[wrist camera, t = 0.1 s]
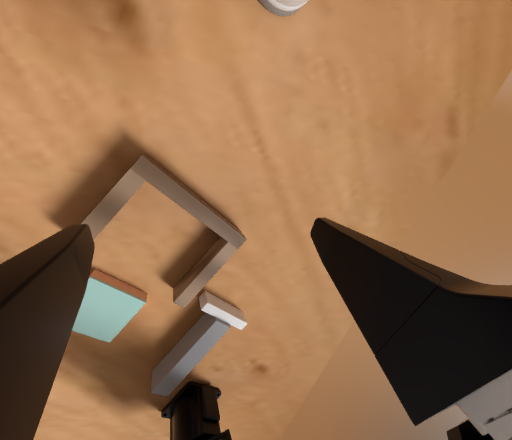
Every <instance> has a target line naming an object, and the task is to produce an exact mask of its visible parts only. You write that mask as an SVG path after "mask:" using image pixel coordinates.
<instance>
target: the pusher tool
mask: <svg viewBox="0 0 512 440" xmlns="http://www.w3.org/2000/svg"><path fill="white" fill-rule="evenodd" d="M199 302H200V307H201V310H202V311H204V312H205V313H204V314H203V315H202V317H201V318H200V319H199V320H198V321H197V322H196V323H195V324H194V325H193V326H192V328H191V329H190V330H189V331H188V332H187V333H186V334H185V335H184V336H183V337H182V338H181V340H180V341H179V342H178V343H177V344H176V345H175V346H174V347H173V348H172V349H171V351H170V352H169V353H168V354H167V355H166V356H165V357H164V358H163V359H162V360H161V362H160V363H159V364H158V365H157V366H156V367H155V368H154V369H153V370H152V381H151V393H153V394H158V395H162V396H168V395H169V394H170V393H171V392H172V391H173V390H174V389H175V388H176V387H177V386H178V384H179V383H180V382H181V381H182V380H183V379H184V378H185V377H186V376H187V375H188V373H189V372H190V371H191V370H192V369H193V368H194V367H195V366H196V365H197V364H198V363H199V361H200V360H201V359H202V358H203V357H204V356H205V355H206V354H207V353H208V352H209V350H210V349H211V348H212V347H213V346H214V345H215V344H216V343H217V342H218V341H219V340H220V338H221V337H222V336H223V335H224V334H225V333H226V332H227V331H228V330H229V329H230V325H232V326H234V327H236V328H238V329H240V330H242V329H243V328H244V327H245V326H246V325H247V324H248V323H247V321H246V319H245V316H244V314H243V312H242V311H241V310H239V309H237V308H235V307H233V306H232V305H230V304H228V303H226V302H225V301H223V300H221V299H219V298H217V297H216V296H214V295H212V294H210V293H208V292H207V291H204V292H203V293H202V294H201V296H200V297H199ZM229 324H230V325H229Z"/></svg>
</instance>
